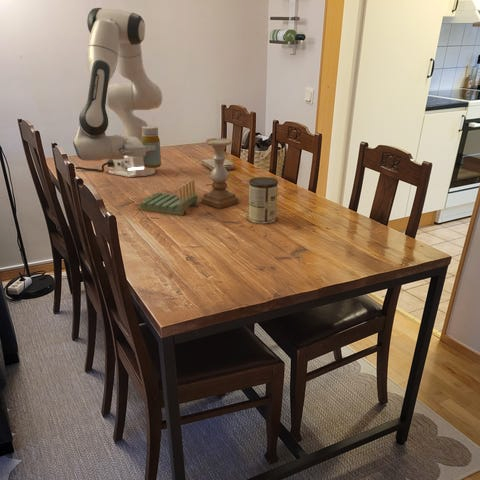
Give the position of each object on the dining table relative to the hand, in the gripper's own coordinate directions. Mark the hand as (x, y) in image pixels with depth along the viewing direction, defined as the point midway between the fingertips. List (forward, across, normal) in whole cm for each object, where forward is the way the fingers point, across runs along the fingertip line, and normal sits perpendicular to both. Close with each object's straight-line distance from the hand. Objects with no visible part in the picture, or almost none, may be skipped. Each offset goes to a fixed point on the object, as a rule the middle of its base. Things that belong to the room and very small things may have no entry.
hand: (153, 145), depth 191 cm
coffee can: (+31, -41, +20) cm, 55 cm away
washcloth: (+38, +38, +20) cm, 58 cm away
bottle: (-1, 0, +8) cm, 8 cm away
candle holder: (+22, -18, +20) cm, 35 cm away
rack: (+2, -17, +20) cm, 26 cm away
